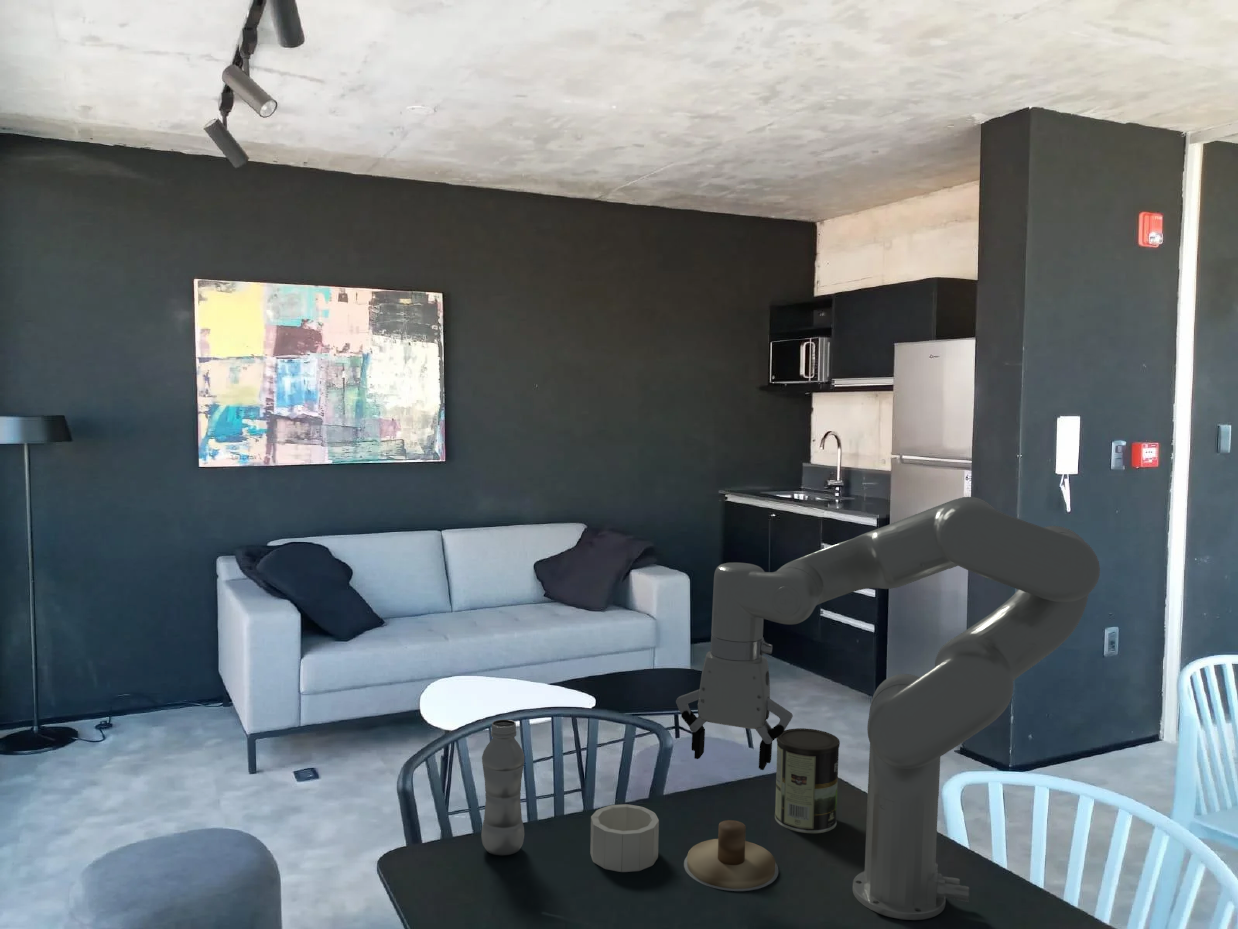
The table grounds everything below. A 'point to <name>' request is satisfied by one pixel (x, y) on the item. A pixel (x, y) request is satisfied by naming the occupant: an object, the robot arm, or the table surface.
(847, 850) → the table surface
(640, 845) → the bowl
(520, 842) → the plastic bottle
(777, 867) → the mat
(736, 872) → the lid
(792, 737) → the coffee can
